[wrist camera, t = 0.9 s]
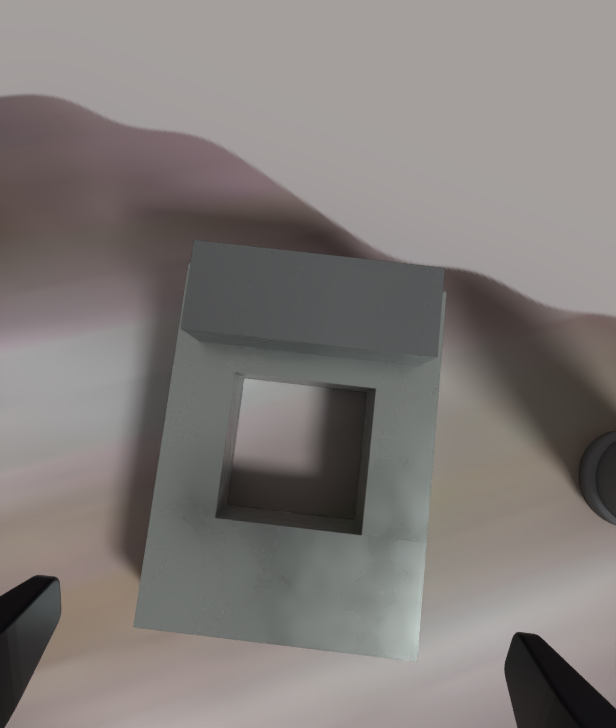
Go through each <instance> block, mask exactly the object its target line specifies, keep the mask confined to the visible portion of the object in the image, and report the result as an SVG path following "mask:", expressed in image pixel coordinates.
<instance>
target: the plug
mask: <svg viewBox="0 0 616 728" xmlns="http://www.w3.org/2000/svg"><path fill="white" fill-rule="evenodd" d="M579 482H580V487H581V490H582V493H583V496H584V498H585V500H586V502H587V503H588V505H589V506H590V507H591V509H592V510H593V511H594V512H595V513H596V514H597V515H598V516H599V517H601V518H602V519H604V520H605V521H607V522H609V523H611V524H614V525H616V431H612V432H609V433H606V434H604V435H602V436H600V437H599V438H597V439H596V440H595V441H593V442H592V443H591V444H590V446H589V447H588V448H587V450H586V451H585V453H584V455H583V457H582V460H581V463H580V468H579Z"/></svg>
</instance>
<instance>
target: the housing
mask: <svg viewBox="0 0 616 728" xmlns="http://www.w3.org/2000/svg"><path fill="white" fill-rule="evenodd" d="M444 272H445V268H442V267H433V266H424V265H415V264H406V263H397V262H388V261H379V260H370V259H361V258H352V257H343V256H334V255H325V254H316V253H307V252H298V251H289V250H280V249H271V248H262V247H254V246H245V245H236V244H227V243H218V242H209V241H200V240H194V242H193V249H192V255H191V262H190V263H188V270H187V277H186V283H185V290H184V296H183V303H182V310H181V316H180V323H179V329H178V336H177V343H176V349H175V356H174V362H173V369H172V376H171V382H170V389H169V395H168V402H167V409H166V415H165V422H164V428H163V435H162V441H161V448H160V455H159V461H158V468H157V474H156V481H155V488H154V494H153V501H152V507H151V514H150V521H149V527H148V534H147V540H146V547H145V554H144V560H143V567H142V573H141V580H140V587H139V593H138V600H137V606H136V613H135V620H134V626H133V627H135V628H143V629H151V630H160V631H168V632H176V633H184V634H193V635H201V636H209V637H217V638H226V639H234V640H242V641H250V642H259V643H267V644H275V645H283V646H292V647H300V648H308V649H316V650H325V651H333V652H341V653H350V654H358V655H366V656H374V657H383V658H391V659H399V660H407V661H416V662H417V655H418V643H419V630H420V618H421V605H422V593H423V580H424V568H425V555H426V543H427V530H428V518H429V505H430V493H431V480H432V468H433V456H434V443H435V431H436V418H437V406H438V393H439V381H440V368H441V356H442V343H443V331H444V318H445V306H446V293H447V292H443V285H444ZM244 378H248V379H257V380H266V381H275V382H283V383H292V384H301V385H309V386H318V387H327V388H335V389H344V390H353V391H362V392H367V399H366V409H365V419H364V429H363V440H362V450H361V460H360V470H359V480H358V490H357V500H356V510H355V520H352V519H343V518H335V517H326V516H318V515H309V514H301V513H292V512H284V511H275V510H267V509H258V508H250V507H241V506H233V505H227V502H228V495H229V487H230V479H231V472H232V464H233V457H234V449H235V442H236V434H237V426H238V419H239V411H240V404H241V396H242V389H243V381H244Z"/></svg>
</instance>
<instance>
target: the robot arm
mask: <svg viewBox="0 0 616 728" xmlns="http://www.w3.org/2000/svg"><path fill="white" fill-rule="evenodd" d="M60 615H61V595H60V582H59V580H58V578H57V577H54V576H45V575H36V576H33V577H31V578H30V579H28V580H26V581H25V582H23V583H21V584H20V585H18V586H16V587H15V588H13V589H11V590H10V591H8V592H6V593H5V594H3V595H1V596H0V728H5V726H6V724H7V723H8V721H9V719H10V717H11V716H12V714H13V712H14V710H15V709H16V707H17V705H18V703H19V701H20V699H21V697H22V695H23V693H24V691H25V689H26V687H27V685H28V683H29V681H30V679H31V677H32V675H33V673H34V671H35V669H36V667H37V665H38V663H39V661H40V659H41V657H42V655H43V653H44V651H45V649H46V647H47V644H48V642H49V640H50V638H51V636H52V634H53V632H54V630H55V628H56V626H57V624H58V622H59V619H60ZM504 671H505V678H506V682H507V686H508V691H509V695H510V699H511V703H512V707H513V711H514V716H515V720H516V724H517V728H616V708H615V707H613V706H612V705H611V704H610V703H609V702H608V701H607V700H606V699H605V698H604V697H603V696H602V695H601V694H600V693H599V692H598V691H597V690H596V689H595V688H594V687H593V686H591V685H590V684H589V683H588V682H587V681H586V680H585V679H584V678H583V677H582V676H581V675H580V674H579V673H578V672H577V671H576V670H575V669H574V668H573V667H572V666H570V665H569V664H568V663H567V662H566V661H565V660H564V659H563V658H562V657H561V656H560V655H559V654H558V653H557V652H556V651H555V650H554V649H553V648H552V647H551V646H550V645H548V644H547V643H546V642H545V641H544V640H543V639H542V638H541V637H540V636H538V635H536V634H531V633H523V632H517V633H515V634H514V636H513V638H512V641H511V644H510V648H509V651H508V654H507V657H506V661H505V667H504Z"/></svg>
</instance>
